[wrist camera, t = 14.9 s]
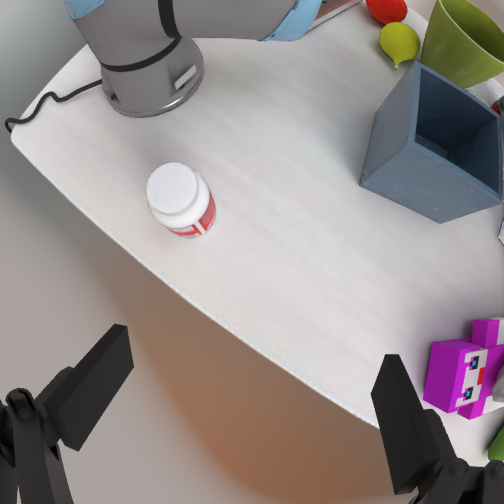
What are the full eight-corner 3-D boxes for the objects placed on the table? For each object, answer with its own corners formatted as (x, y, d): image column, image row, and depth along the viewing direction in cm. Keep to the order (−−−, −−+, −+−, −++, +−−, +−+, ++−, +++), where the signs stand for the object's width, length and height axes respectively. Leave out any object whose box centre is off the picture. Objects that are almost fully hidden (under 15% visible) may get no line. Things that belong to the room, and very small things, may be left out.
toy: (545, 389, 30) (442, 433, 28) (525, 383, 36) (418, 418, 34) (558, 312, 32) (463, 325, 29) (536, 311, 38) (434, 320, 35)
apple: (353, 13, 41) (364, -14, 34) (372, 2, 42) (383, -22, 35) (388, 37, 41) (403, 12, 33) (404, 25, 42) (418, 2, 34)
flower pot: (384, 58, 40) (422, -5, 24) (424, 38, 41) (459, -11, 25) (446, 124, 39) (503, 76, 23) (477, 95, 40) (524, 54, 24)
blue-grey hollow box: (358, 186, 38) (406, 144, 24) (375, 112, 39) (415, 59, 26) (440, 224, 37) (502, 203, 24) (448, 151, 39) (500, 115, 26)
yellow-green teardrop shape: (421, 50, 39) (401, 85, 41) (386, 31, 40) (364, 65, 42) (428, 28, 32) (408, 64, 34) (390, 8, 34) (366, 42, 35)
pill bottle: (199, 180, 37) (183, 142, 26) (226, 220, 37) (219, 195, 26) (157, 208, 37) (126, 179, 26) (182, 249, 36) (157, 235, 25)
